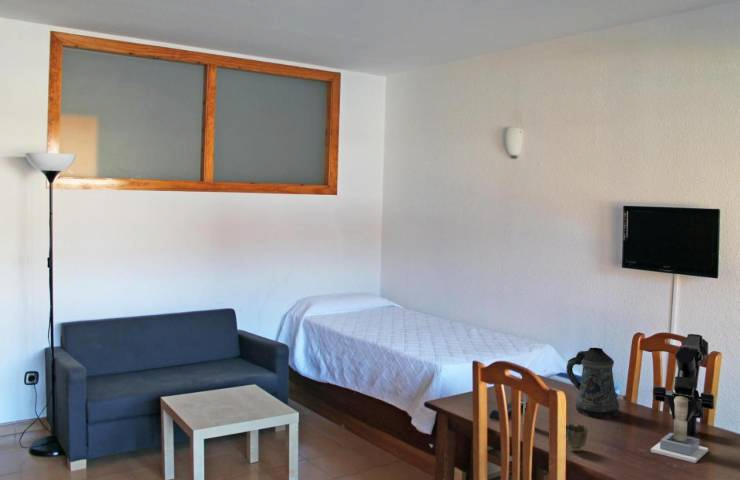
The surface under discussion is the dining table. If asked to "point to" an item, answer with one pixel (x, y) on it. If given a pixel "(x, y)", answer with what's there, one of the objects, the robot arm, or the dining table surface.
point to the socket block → (680, 448)
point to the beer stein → (594, 384)
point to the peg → (680, 418)
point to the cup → (576, 436)
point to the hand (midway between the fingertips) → (680, 419)
